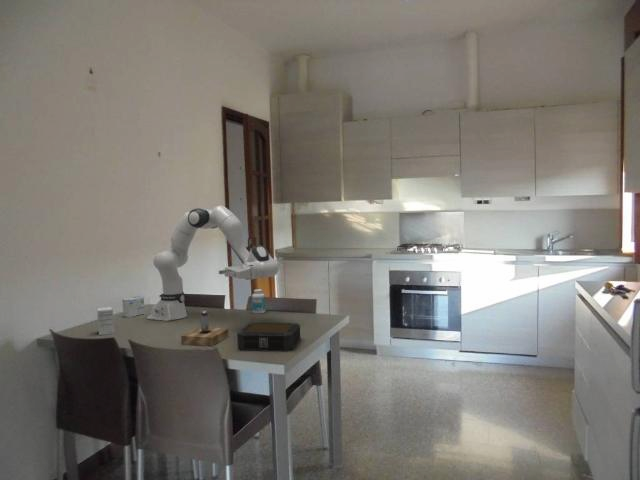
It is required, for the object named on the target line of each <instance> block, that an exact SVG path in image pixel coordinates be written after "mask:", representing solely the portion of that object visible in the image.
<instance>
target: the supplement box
mask: <svg viewBox="0 0 640 480" xmlns="http://www.w3.org/2000/svg"><path fill="white" fill-rule="evenodd" d="M96 310H97V311H96V313H97V314H96V315H97V325H98V335H99V336H102V335H112V334H115V323H114V321H115V320H114V310H113V306H106V307H99V308H96Z"/></svg>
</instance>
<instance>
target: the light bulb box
mask: <svg viewBox="0 0 640 480" xmlns="http://www.w3.org/2000/svg"><path fill="white" fill-rule="evenodd" d="M121 300H122V311H123V312H122V315H123V317H124V316H126V317H125V318H127V317H132V316H136V315H140V314H144V315H146V309H145V296H140V295H136V296H132V297H126V298H122V299H121ZM140 316H141V315H140ZM136 317H137V316H136ZM132 318H133V317H132Z"/></svg>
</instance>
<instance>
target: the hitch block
mask: <svg viewBox="0 0 640 480" xmlns="http://www.w3.org/2000/svg"><path fill="white" fill-rule="evenodd" d="M227 338H229V328H228V327H227V328H226V327H209V333H208V334H202V333H201V326H198V327H196V328H193V330H189V331H188V332H186V333H183V334H182V335H180V342H181V345H183V346H186V345H187V346H202V347H204V346H205V347H213V346H215V345H216V344H219V343H221V342H222V341H223V339H224V340H226V339H227ZM218 342H219V343H218Z"/></svg>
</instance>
